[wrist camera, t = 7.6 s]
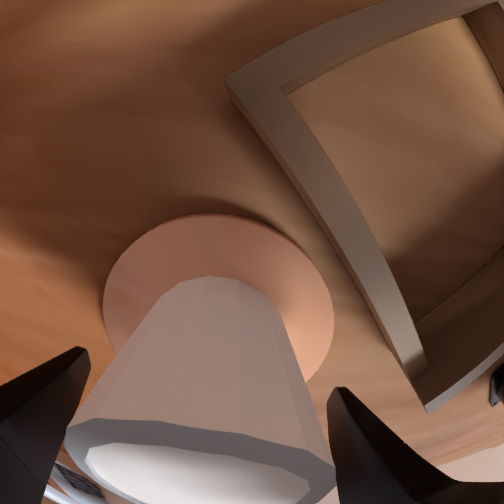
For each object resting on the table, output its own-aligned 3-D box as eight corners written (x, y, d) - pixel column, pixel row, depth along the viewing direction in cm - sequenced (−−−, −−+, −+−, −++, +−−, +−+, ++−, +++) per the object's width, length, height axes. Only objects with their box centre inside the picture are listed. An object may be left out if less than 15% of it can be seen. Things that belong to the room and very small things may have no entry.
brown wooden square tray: (543, 215, 10) (590, 237, 6) (392, 353, 13) (427, 414, 9) (459, -3, 6) (511, -26, 2) (230, 99, 9) (217, 61, 5)
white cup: (262, 404, 13) (269, 530, 6) (129, 364, 12) (78, 486, 5) (328, 293, 11) (400, 447, 4) (154, 233, 10) (37, 364, 3)
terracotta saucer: (363, 341, 13) (368, 351, 12) (205, 419, 15) (203, 429, 14) (240, 158, 10) (239, 159, 9) (74, 297, 12) (66, 305, 11)
